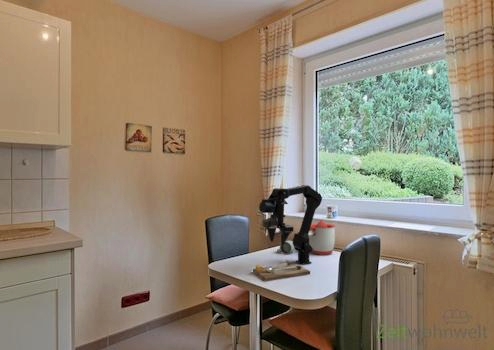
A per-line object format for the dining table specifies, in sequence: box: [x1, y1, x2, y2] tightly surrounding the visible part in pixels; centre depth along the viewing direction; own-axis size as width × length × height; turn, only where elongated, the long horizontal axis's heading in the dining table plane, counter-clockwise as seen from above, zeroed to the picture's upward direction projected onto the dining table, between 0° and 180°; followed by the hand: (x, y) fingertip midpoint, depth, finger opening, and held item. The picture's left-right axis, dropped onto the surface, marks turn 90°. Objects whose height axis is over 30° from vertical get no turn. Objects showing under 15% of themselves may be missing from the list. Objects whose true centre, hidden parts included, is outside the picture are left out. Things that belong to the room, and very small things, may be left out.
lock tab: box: [255, 264, 264, 271], centre depth 150 cm, size 3×2×2 cm
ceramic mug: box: [276, 240, 295, 255], centre depth 189 cm, size 11×8×8 cm
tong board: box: [252, 262, 311, 282], centre depth 150 cm, size 14×24×3 cm, turn 113°
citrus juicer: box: [308, 220, 336, 256], centre depth 188 cm, size 16×17×20 cm
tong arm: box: [266, 260, 290, 273], centre depth 152 cm, size 2×17×2 cm, turn 138°
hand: (276, 243), depth 158 cm, fingers open, 9 cm apart
